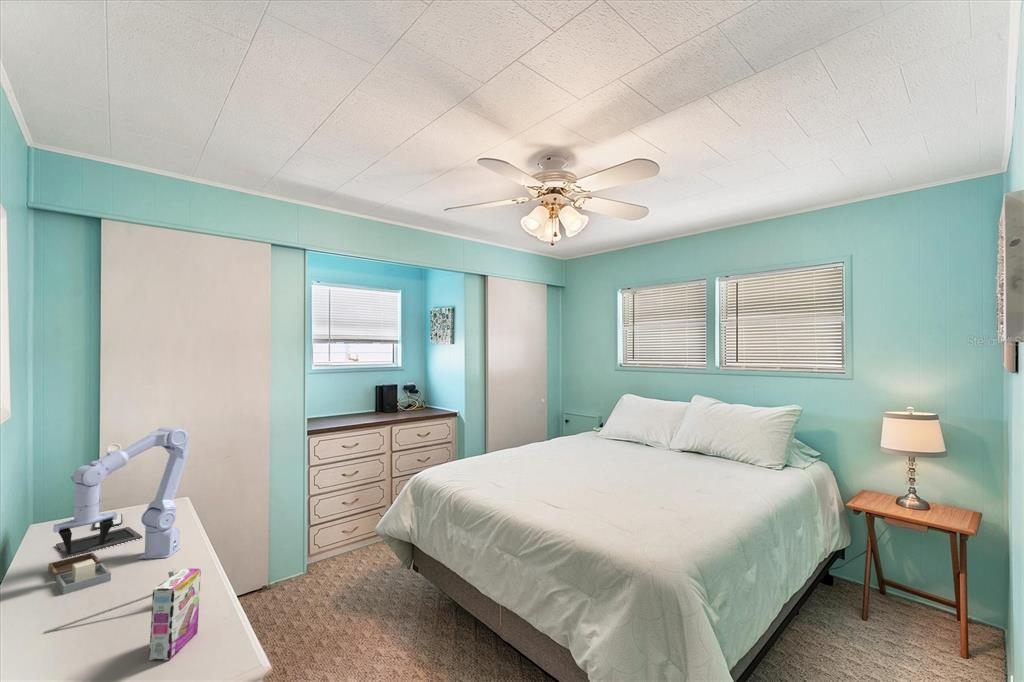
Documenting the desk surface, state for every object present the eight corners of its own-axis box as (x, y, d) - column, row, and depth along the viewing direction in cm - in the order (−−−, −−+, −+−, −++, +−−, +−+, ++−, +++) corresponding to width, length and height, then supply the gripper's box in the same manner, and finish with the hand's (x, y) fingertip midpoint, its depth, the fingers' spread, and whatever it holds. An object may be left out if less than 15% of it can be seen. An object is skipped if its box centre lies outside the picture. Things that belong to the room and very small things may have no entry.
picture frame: (66, 559, 158) (142, 540, 175) (67, 554, 158) (142, 535, 175) (55, 548, 167) (128, 530, 184) (56, 542, 167) (128, 525, 184)
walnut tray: (100, 568, 150) (100, 561, 151) (54, 581, 142) (55, 573, 142) (92, 559, 157) (92, 552, 157) (48, 571, 148) (48, 563, 148)
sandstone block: (94, 579, 142) (95, 562, 143) (75, 584, 139) (75, 568, 139) (91, 574, 145) (91, 558, 145) (71, 580, 142) (72, 563, 142)
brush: (51, 646, 119) (46, 609, 119) (180, 599, 133) (175, 567, 134) (46, 652, 116) (40, 615, 116) (179, 604, 130) (173, 571, 130)
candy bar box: (170, 661, 106) (173, 589, 107) (148, 662, 106) (150, 590, 106) (199, 632, 117) (201, 567, 118) (179, 632, 117) (181, 567, 117)
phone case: (95, 521, 194) (92, 532, 182) (95, 517, 194) (93, 528, 182) (122, 516, 199) (122, 527, 187) (122, 513, 200) (122, 523, 187)
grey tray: (110, 580, 143) (111, 572, 143) (63, 594, 134) (63, 586, 134) (101, 570, 149) (102, 563, 149) (56, 583, 141) (56, 575, 141)
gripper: (113, 496, 152) (111, 537, 151) (52, 507, 140) (50, 552, 140) (119, 500, 147) (117, 543, 147) (56, 512, 136) (54, 559, 135)
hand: (85, 548), depth 143 cm, fingers open, 7 cm apart
